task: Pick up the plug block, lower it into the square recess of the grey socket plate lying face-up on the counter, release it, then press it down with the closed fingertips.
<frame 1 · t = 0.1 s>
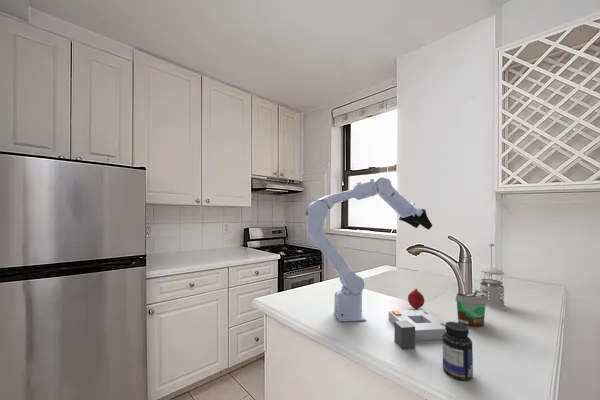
hand: (423, 226, 96), 32 cm above the worktop, tool tilted 50°, fingers open, 7 cm apart
plug: (404, 345, 73), on the worktop
french press: (491, 304, 105), on the worktop
socket plate: (419, 328, 83), on the worktop
food container: (475, 325, 86), on the worktop
pill bottle: (457, 374, 61), on the worktop
onion: (416, 309, 99), on the worktop
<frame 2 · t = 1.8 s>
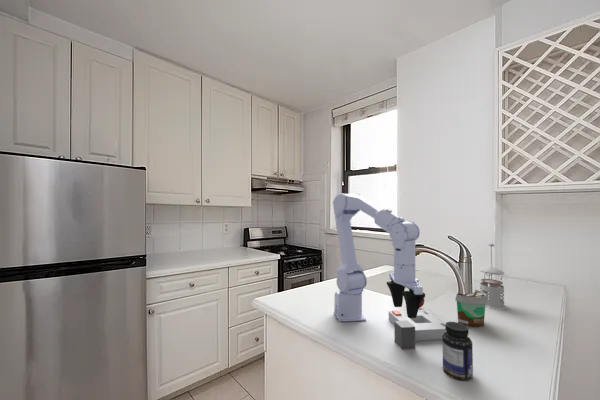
hand: (404, 311, 73), 9 cm above the worktop, tool pointing down, fingers open, 7 cm apart
nothing on the worktop moved.
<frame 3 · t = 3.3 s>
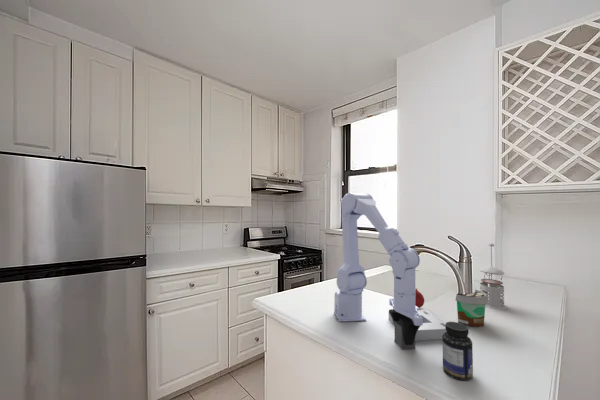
hand: (404, 340, 73), 1 cm above the worktop, tool pointing down, fingers closed on plug, 4 cm apart
plug: (404, 345, 73), on the worktop, touching gripper
everything else where it was.
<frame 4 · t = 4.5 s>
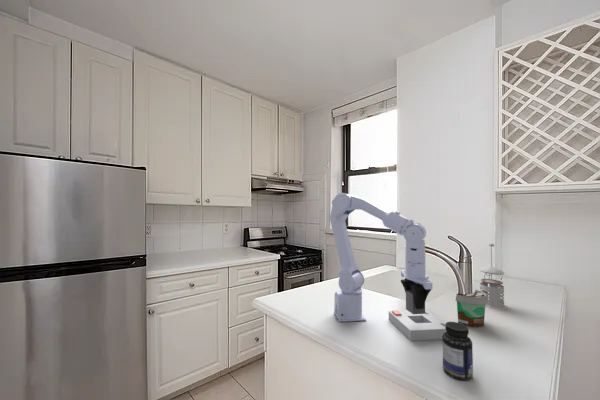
hand: (415, 305, 80), 8 cm above the worktop, tool pointing down, fingers closed on plug, 4 cm apart
plug: (415, 311, 80), point 7 cm above the worktop, touching gripper
everything else where it was.
when the fingers open (3 cm above the worktop, at t = 6.1 s): plug drops 2 cm, resting in socket plate.
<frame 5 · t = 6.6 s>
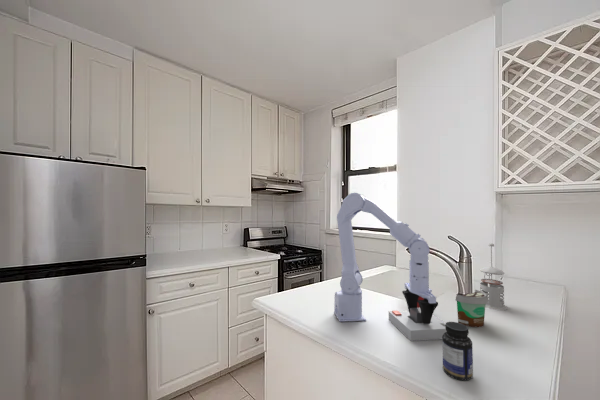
hand: (419, 317, 83), 3 cm above the worktop, tool pointing down, fingers open, 7 cm apart
plug: (419, 328, 83), resting in socket plate
everything else where it was.
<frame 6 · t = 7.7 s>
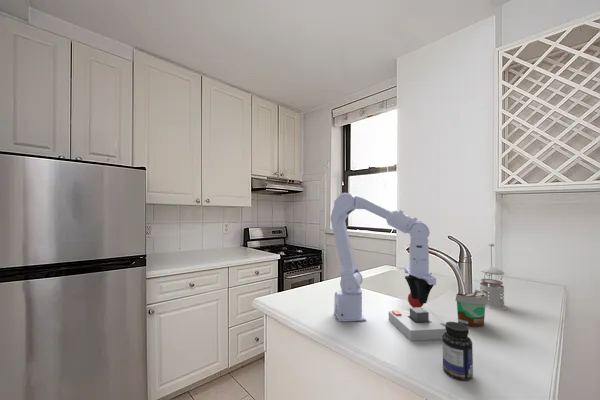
hand: (419, 300, 83), 9 cm above the worktop, tool pointing down, fingers open, 3 cm apart
nothing on the worktop moved.
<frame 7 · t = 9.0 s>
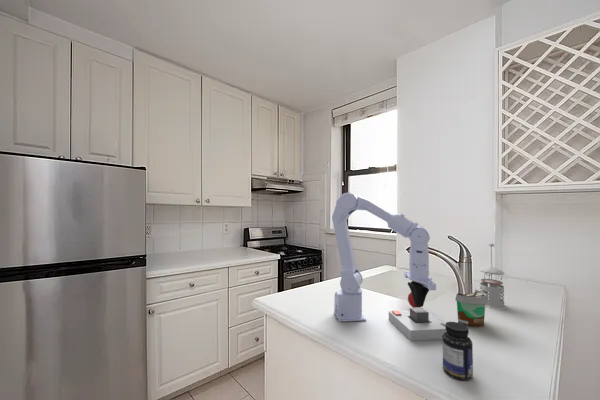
hand: (418, 305, 83), 7 cm above the worktop, tool pointing down, fingers closed
nothing on the worktop moved.
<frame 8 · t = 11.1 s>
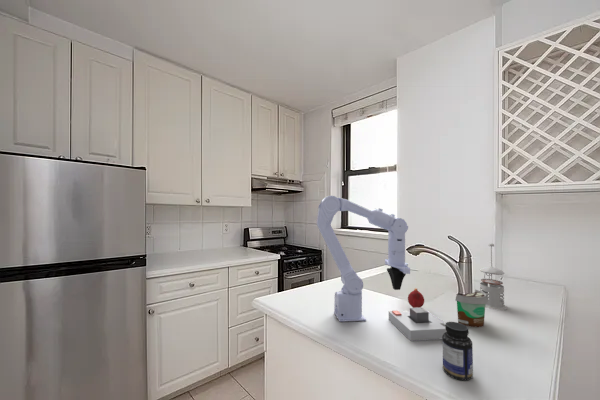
hand: (396, 289, 92), 10 cm above the worktop, tool pointing down, fingers closed
nothing on the worktop moved.
at the end: plug 0.0 cm off-centre on the socket plate, point 0.0 cm above the socket plate's base; plug tilted 0°; the gripper is holding nothing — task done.
